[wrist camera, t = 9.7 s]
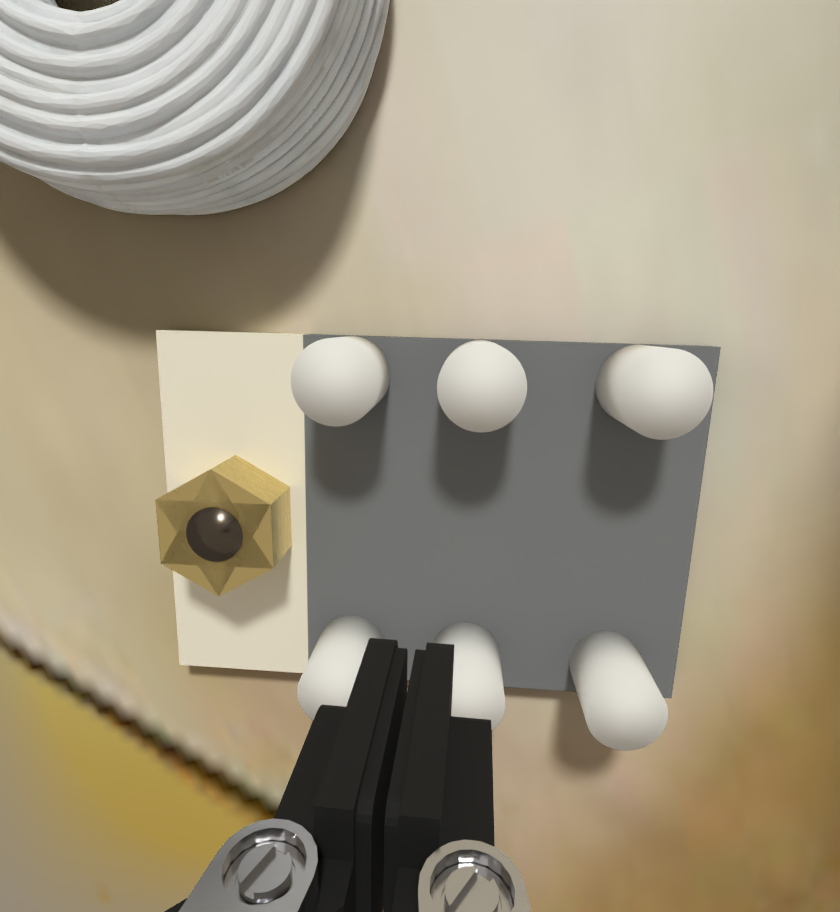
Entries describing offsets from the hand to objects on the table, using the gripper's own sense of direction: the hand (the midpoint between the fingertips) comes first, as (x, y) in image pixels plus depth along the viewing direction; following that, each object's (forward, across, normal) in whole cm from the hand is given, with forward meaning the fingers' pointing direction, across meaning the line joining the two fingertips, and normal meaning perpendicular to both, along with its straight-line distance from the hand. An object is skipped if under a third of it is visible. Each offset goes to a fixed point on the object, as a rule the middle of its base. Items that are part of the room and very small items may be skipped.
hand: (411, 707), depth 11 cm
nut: (+13, +9, +1) cm, 16 cm away
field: (+14, +1, +1) cm, 14 cm away
